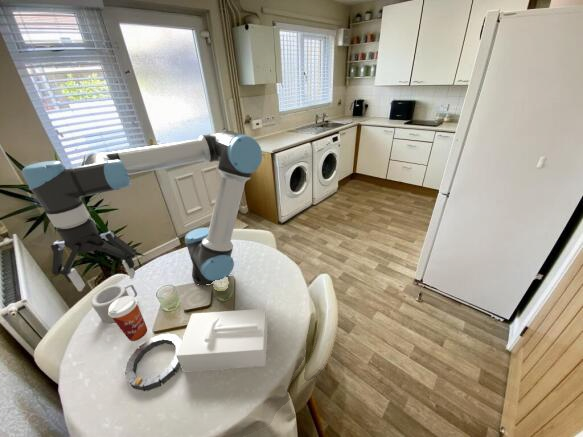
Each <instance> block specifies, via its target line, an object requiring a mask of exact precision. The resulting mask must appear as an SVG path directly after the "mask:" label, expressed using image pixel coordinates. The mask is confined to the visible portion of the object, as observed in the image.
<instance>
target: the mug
mask: <svg viewBox="0 0 583 437" xmlns="http://www.w3.org/2000/svg"><path fill="white" fill-rule="evenodd" d="M128 288H131V289H132V291H133V293H134V295H132V296H133V297H135V298H136V297H137V296H138V292H137V291H136V289H135V286H134V285H133V284H128V285H122V284H112V285H109V286H106V287H104V288H102V289H101V290H99V291H98V292H97V293H96V294H94V296H93V297H92V299H91V302H90V304H91V306H92V307H93V309H94V311H95V312H96V313H97V315H98V317H99V318H100V319H101V321H102V322H103V323H104V324H107V325H111V324H117V323H116V322H115V321H114V319H113V318H112V317H110V316H109V315H108V309H109V306H110V305H111V304H112V303H113V302H114V301H115V300H117V299H118V298H121V297H124V296H130V295H129V294H128V292H127V289H128Z"/></svg>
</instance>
